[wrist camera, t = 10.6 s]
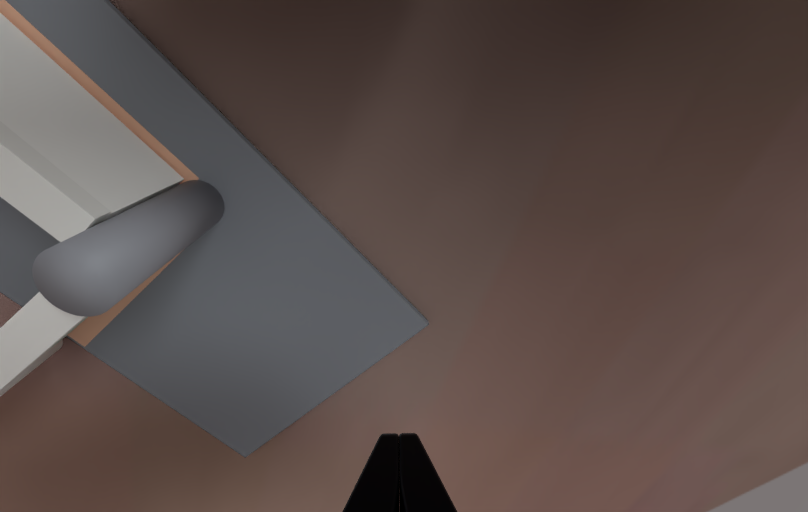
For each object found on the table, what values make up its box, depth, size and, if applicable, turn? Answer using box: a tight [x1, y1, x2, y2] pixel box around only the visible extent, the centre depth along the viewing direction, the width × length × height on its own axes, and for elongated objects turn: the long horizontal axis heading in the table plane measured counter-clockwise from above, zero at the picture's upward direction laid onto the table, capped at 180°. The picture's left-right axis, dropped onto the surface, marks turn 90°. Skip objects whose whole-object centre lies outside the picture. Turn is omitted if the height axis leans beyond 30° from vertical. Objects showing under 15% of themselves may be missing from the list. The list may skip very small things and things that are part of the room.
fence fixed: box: [0, 13, 225, 317], centre depth 14 cm, size 2×14×8 cm, turn 41°
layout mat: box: [0, 0, 429, 457], centre depth 21 cm, size 16×26×1 cm, turn 41°
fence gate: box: [0, 292, 87, 396], centre depth 18 cm, size 12×2×7 cm, turn 127°
